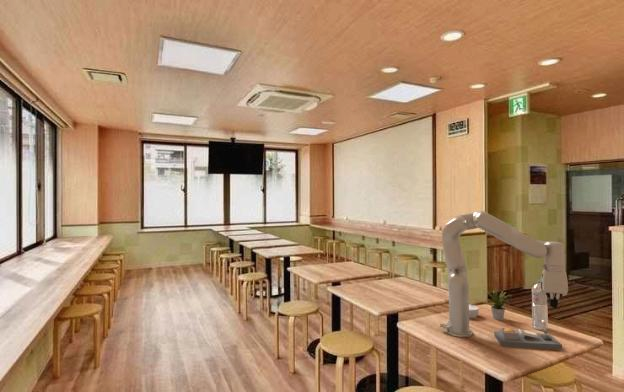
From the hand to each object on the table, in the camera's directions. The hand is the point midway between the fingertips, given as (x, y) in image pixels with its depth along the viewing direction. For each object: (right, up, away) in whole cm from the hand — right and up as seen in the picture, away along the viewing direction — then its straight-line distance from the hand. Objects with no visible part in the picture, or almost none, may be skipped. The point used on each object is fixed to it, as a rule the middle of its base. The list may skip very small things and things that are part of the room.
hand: (553, 306), depth 164 cm
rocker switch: (-11, -14, +2) cm, 18 cm away
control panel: (-11, -18, +3) cm, 21 cm away
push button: (-19, -15, +4) cm, 24 cm away
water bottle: (+6, -18, +19) cm, 27 cm away
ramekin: (-22, -18, +41) cm, 50 cm away
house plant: (-8, -18, +34) cm, 39 cm away
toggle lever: (-3, -14, +1) cm, 14 cm away
